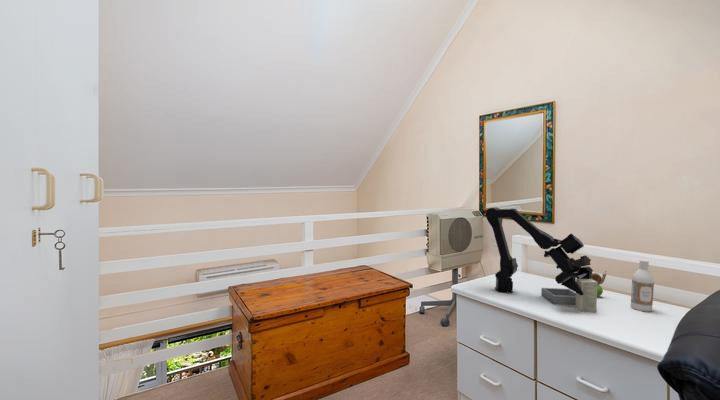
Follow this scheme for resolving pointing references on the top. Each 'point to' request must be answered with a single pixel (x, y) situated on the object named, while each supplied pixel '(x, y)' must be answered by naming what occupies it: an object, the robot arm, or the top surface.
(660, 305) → the top surface
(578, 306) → the skincare box
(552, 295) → the box
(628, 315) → the top surface
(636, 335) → the top surface
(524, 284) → the top surface
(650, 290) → the bath foam
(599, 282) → the snail figurine
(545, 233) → the robot arm
